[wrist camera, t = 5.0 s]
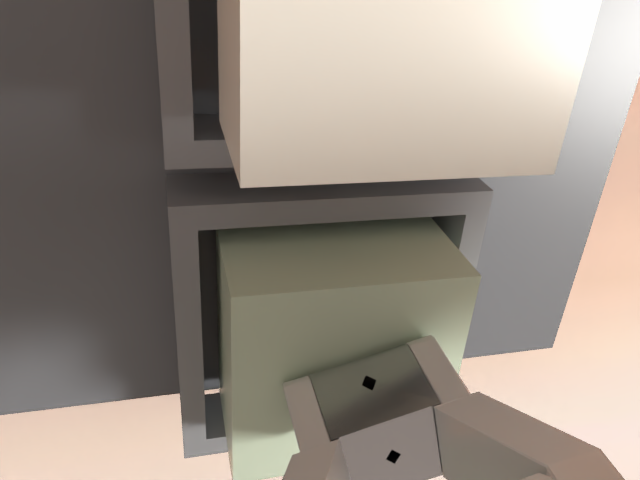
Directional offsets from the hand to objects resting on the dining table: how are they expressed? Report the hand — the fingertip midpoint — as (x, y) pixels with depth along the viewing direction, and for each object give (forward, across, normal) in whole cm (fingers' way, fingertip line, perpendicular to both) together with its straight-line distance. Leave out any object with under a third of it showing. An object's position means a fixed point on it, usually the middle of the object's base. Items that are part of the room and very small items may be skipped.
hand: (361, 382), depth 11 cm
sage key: (+3, 0, 0) cm, 3 cm away
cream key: (+1, -2, -7) cm, 7 cm away
